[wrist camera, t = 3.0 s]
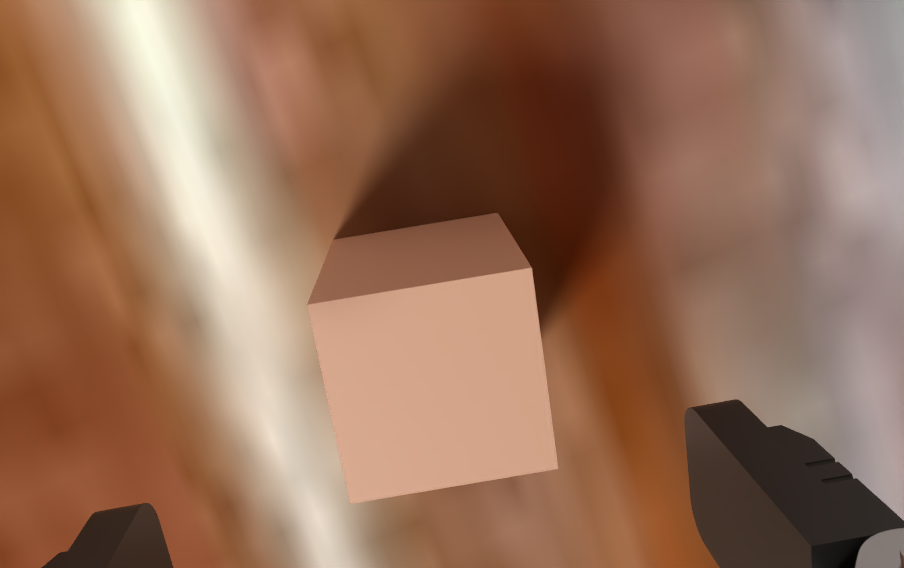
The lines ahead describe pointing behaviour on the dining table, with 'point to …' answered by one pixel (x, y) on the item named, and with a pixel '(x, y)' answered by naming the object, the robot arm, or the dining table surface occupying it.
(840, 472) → the robot arm
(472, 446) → the light pinkish-tan block
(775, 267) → the dining table surface
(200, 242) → the dining table surface
